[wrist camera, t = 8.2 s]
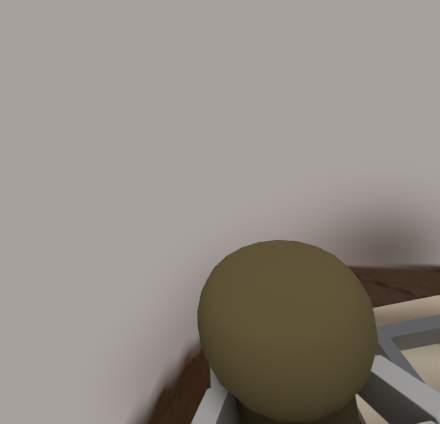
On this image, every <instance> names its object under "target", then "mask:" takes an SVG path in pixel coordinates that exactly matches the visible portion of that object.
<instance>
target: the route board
mask: <svg viewBox="0 0 440 424" xmlns="http://www.w3.org/2000/svg"><path fill="white" fill-rule="evenodd" d="M373 311H374V316H375V322H376V327H377V326H382V325H387V324H393V323H398V322H403V321H408V320H413V319H418V318H423V317H429V316H434V315H439V314H440V295H438V296H433V297H428V298H423V299H417V300H412V301H407V302H402V303H397V304H392V305H387V306H382V307H377V308H373ZM401 353H402V354H403V355H404V356H405V358H406V359H407V360H408V362H409V363H410V364H411V365H412V367H413V368H414V369H415V371H416V372H417V373H418V374H419V376H420V377H421V378H422V380H423V381H424V382H425V383H426V385H427V386H429V387H430V388H432V389H433V390H435V391H436V392H438V393H439V394H440V343H439V344H433V345H428V346H423V347H418V348H413V349H407V350H402V351H401ZM356 401H357V408H358V414H359V420H360V422H361V424H389V423H388V422H387V421H386V420H385V419H384V418H382V417H381V416H380V415H379V414H378V413H377V412H376V411H375V410H374V409H373V408H372V407H371V406H370V405H368V404H367V403H366V402H365V401H364V400H363V399H362V398H361V397H360V396H359V395H358V394H356Z"/></svg>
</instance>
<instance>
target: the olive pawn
mask: <svg viewBox="0 0 440 424" xmlns="http://www.w3.org/2000/svg"><path fill="white" fill-rule="evenodd" d="M197 313H198V329H199V335H200V341H201V347H202V350H203V352H204V355H205V357H206V360H207V361H208V363H209V365H210V367H211V368H212V370H213V372H214V374H215V375H216V377H217V379H218V381H219V382H220V384H221V385H222V386H223V387H224V388H225V389H227V390H228V391H229V392H230V393H231V394H232V395H233V396H235V397H236V398H237V404H238V408H239V414H240V415H239V418H238V422H237V424H360V420H359V414H358V408H357V401H356V394H357V393H358V392H359V391H360V389H361V388H362V387H363V386H364V385H365V384H366V383H367V382H368V379H369V375H370V372H371V368H372V365H373V361H374V358H375V354H376V349H377V344H378V335H377V328H376V322H375V316H374V311H373V307H372V303H371V300H370V298H369V296H368V294H367V293H366V291H365V289H364V288H363V286H362V284H361V283H360V281H359V279H358V278H357V277H356V276H355V274H354V273H353V272H352V271H351V270H350V269H349V268H348V267H347V266H346V265H345V264H344V263H342V262H341V261H340V260H339V259H338V258H337V257H336V256H335V255H333V254H331V253H328V252H327V251H325V250H323V249H321V248H318V247H316V246H313V245H309V244H305V243H301V242H298V241H285V240H274V241H265V242H258V243H255V244H252V245H249V246H246V247H242V248H240V249H239V250H237V251H235V252H233V253H231V254H229V255H228V256H226V257H225V258H224V259H223V260H222V261H221V262H220V263H219V264H218V265H217V266H215V268H214V269H213V271H212V272H211V274H210V276H209V278H208V279H207V281H206V283H205V285H204V287H203V289H202V293H201V296H200V302H199V307H198V312H197Z"/></svg>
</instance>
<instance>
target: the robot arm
mask: <svg viewBox="0 0 440 424" xmlns="http://www.w3.org/2000/svg"><path fill="white" fill-rule="evenodd" d="M210 372H211V388H210V389H207V391H206V393H205V395H204V397H203V399H202V401H201V403H200V406H199V408H198V410H197V412H196V414H195V416H194V418H193V421H192V423H191V424H237V422H238V418H239V415H240V414H239V408H238V404H237V398H236V397H235V396H233V395H232V394H231V393H230V392H229V391H228V390H227V389H225V388H224V387H223V386H222V385H221V384H220V382H219V381H218V379H217V377H216V375H215V374H214V372H213V370H212V368H211V367H210ZM357 394H358V395H359V396H360V397H361V398H362V399H363V400H364V401H365V402H366V403H367V404H368V405H370V406H371V407H372V408H373V409H374V410H375V411H376V412H377V413H378V414H379V415H380V416H381V417H382V418H384V419H385V420H386V421H387V422H388V423H389V424H440V394H439V393H438V392H436V391H435V390H433V389H432V388H430V387H429V386H427V385H426V384H424V383H423V382H421V381H420V380H418V379H417V378H415V377H414V376H412V375H411V374H409V373H407V372H406V371H404V370H403V369H401V368H400V367H398V366H397V365H395V364H394V363H392V362H391V361H389V360H388V359H386V358H385V357H383V356H382V355H377V356H376V354H375V358H374V361H373V365H372V368H371V372H370V375H369V379H368V382H367V383H366V384H365V385H364V386H363V387H362V388H361V389H360V391H359V392H358V393H357Z"/></svg>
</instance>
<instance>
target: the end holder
mask: <svg viewBox="0 0 440 424" xmlns="http://www.w3.org/2000/svg"><path fill="white" fill-rule="evenodd" d="M376 328H377V335H378V344H377V349H376V356H377V355H382V356H383V357H385V358H386V359H388V360H389V361H391V362H392V363H394V364H395V365H397V366H398V367H400V368H401V369H403V370H404V371H406V372H407V373H409V374H411V375H412V376H414V377H415V378H417V379H418V380H420V381H421V382H423V383H424V384H426V383H425V382H424V381H423V380H422V378H421V377H420V376H419V374H418V373H417V372H416V371H415V369H414V368H413V367H412V365H411V364H410V363H409V362H408V360H407V359H406V358H405V356H404V355H403V354H402V353H401V351H402V350H407V349H413V348H418V347H423V346H428V345H433V344H439V343H440V314H439V315H434V316H429V317H423V318H418V319H413V320H408V321H403V322H398V323H393V324H387V325H382V326H377V327H376Z"/></svg>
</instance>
